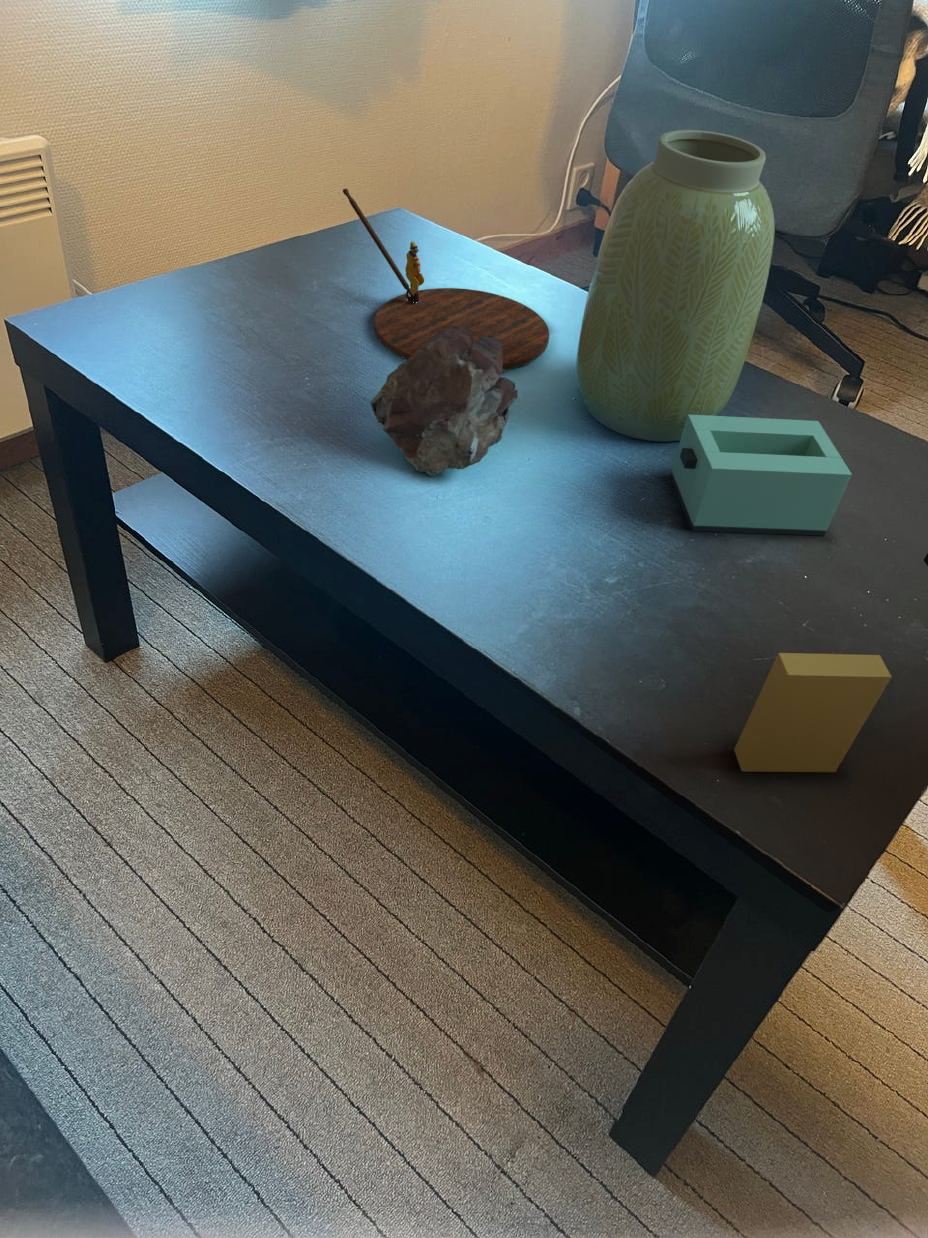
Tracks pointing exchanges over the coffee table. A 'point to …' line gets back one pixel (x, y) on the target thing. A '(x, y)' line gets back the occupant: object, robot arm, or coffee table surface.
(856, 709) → the toast
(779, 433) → the toaster
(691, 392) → the vase
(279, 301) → the coffee table surface
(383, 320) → the incense holder
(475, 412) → the mineral specimen
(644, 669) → the coffee table surface
